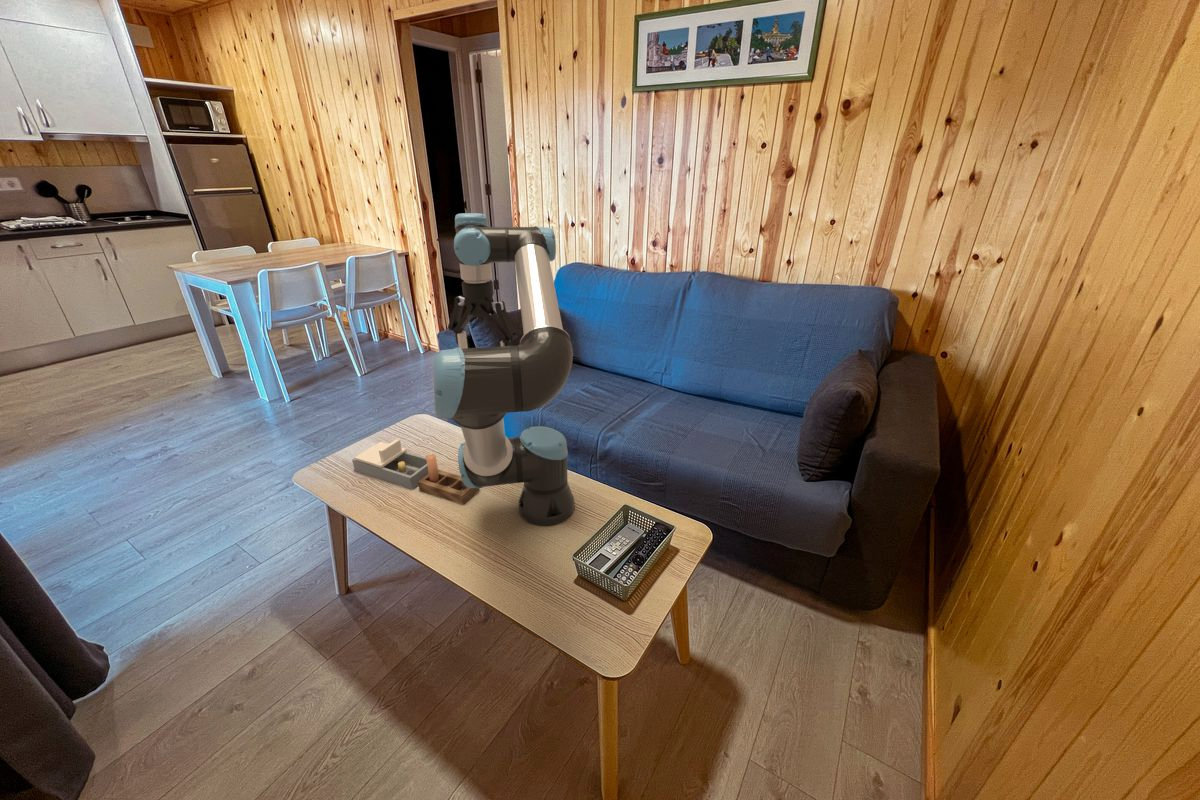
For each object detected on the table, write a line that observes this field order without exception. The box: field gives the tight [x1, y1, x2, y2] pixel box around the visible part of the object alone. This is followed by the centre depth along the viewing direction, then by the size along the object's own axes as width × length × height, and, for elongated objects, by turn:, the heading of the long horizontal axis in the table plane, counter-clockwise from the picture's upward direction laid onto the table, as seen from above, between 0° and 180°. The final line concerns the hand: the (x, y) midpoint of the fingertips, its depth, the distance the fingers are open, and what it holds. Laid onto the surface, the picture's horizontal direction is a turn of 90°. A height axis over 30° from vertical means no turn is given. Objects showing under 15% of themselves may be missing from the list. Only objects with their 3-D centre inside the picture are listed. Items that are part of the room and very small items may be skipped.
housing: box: [351, 451, 429, 490], centre depth 140 cm, size 22×10×4 cm, turn 67°
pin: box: [426, 454, 440, 483], centre depth 132 cm, size 3×3×10 cm
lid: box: [353, 438, 408, 468], centre depth 139 cm, size 10×10×5 cm
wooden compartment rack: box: [417, 469, 480, 505], centre depth 132 cm, size 15×7×3 cm, turn 67°
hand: (484, 359), depth 125 cm, fingers open, 13 cm apart
